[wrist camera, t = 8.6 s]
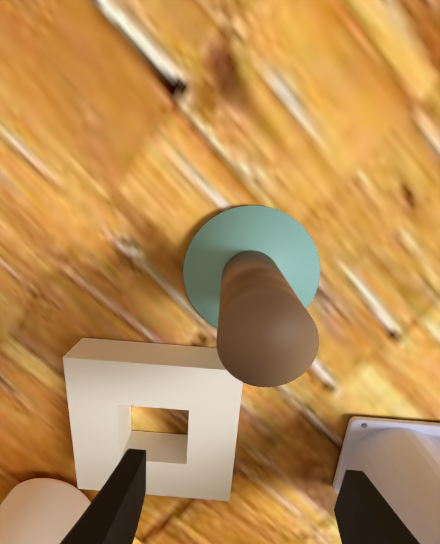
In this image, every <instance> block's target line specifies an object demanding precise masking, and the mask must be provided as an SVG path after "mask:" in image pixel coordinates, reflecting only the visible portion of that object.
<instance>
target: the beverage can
mask: <svg viewBox="0 0 440 544" xmlns="http://www.w3.org/2000/svg"><path fill="white" fill-rule="evenodd" d="M90 504H91V502H90V501H89V499H88V498H87V497H86V496H85V495H84V494H83V493H82V492H81V491H80V490H79V489H77V488H76V487H74V486H73V485H71V484H69V483H67V482H64V481H61V480H57V479H51V478H35V479H30V480H26V481H24V482H22V483H20V484H18V485H17V486H15V487H14V488H13V489H12V490H11V491H10V493H9V494H8V495H7V497H6V498H5V500H4V501H3V502H2V504H1V505H0V544H60V543H61V541H62V540H63V539H64V537H65V536H66V535H67V534H68V532H69V531H70V530H71V529H72V527H73V526H74V525H75V524H76V522H77V521H78V520H79V518H80V517H81V516H82V514H83V513H84V512H85V510H86V509H87V508H88V506H89V505H90Z"/></svg>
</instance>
